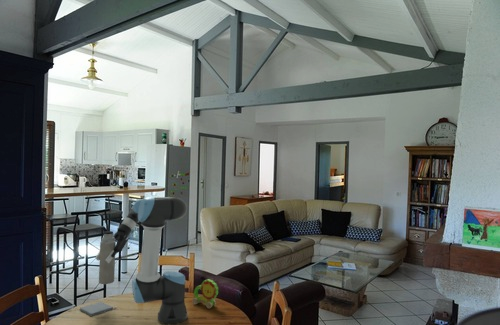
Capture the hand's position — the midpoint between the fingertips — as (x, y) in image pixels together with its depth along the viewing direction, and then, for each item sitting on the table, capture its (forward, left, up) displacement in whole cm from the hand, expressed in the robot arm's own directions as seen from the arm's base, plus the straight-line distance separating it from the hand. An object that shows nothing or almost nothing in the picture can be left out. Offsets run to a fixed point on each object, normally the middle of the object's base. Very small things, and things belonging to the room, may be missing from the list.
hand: (102, 260), depth 186 cm
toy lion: (-39, -42, -27) cm, 64 cm away
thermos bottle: (+1, -4, -13) cm, 13 cm away
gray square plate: (+1, +1, -26) cm, 27 cm away
